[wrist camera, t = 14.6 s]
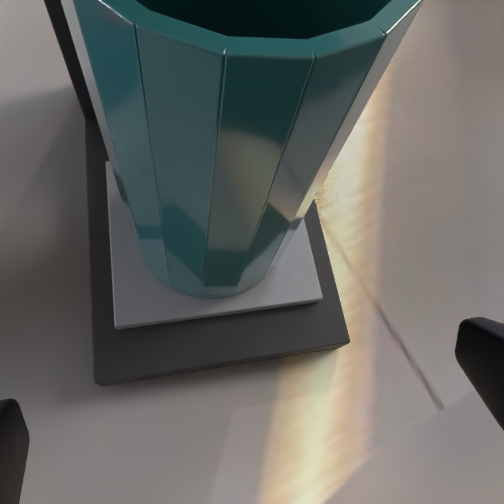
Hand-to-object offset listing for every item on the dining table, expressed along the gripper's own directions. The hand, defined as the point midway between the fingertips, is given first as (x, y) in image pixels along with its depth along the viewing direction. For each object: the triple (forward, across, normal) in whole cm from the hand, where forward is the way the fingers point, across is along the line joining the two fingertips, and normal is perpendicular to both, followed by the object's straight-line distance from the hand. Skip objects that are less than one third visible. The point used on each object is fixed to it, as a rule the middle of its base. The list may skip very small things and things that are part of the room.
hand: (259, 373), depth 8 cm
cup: (+12, 0, +1) cm, 12 cm away
